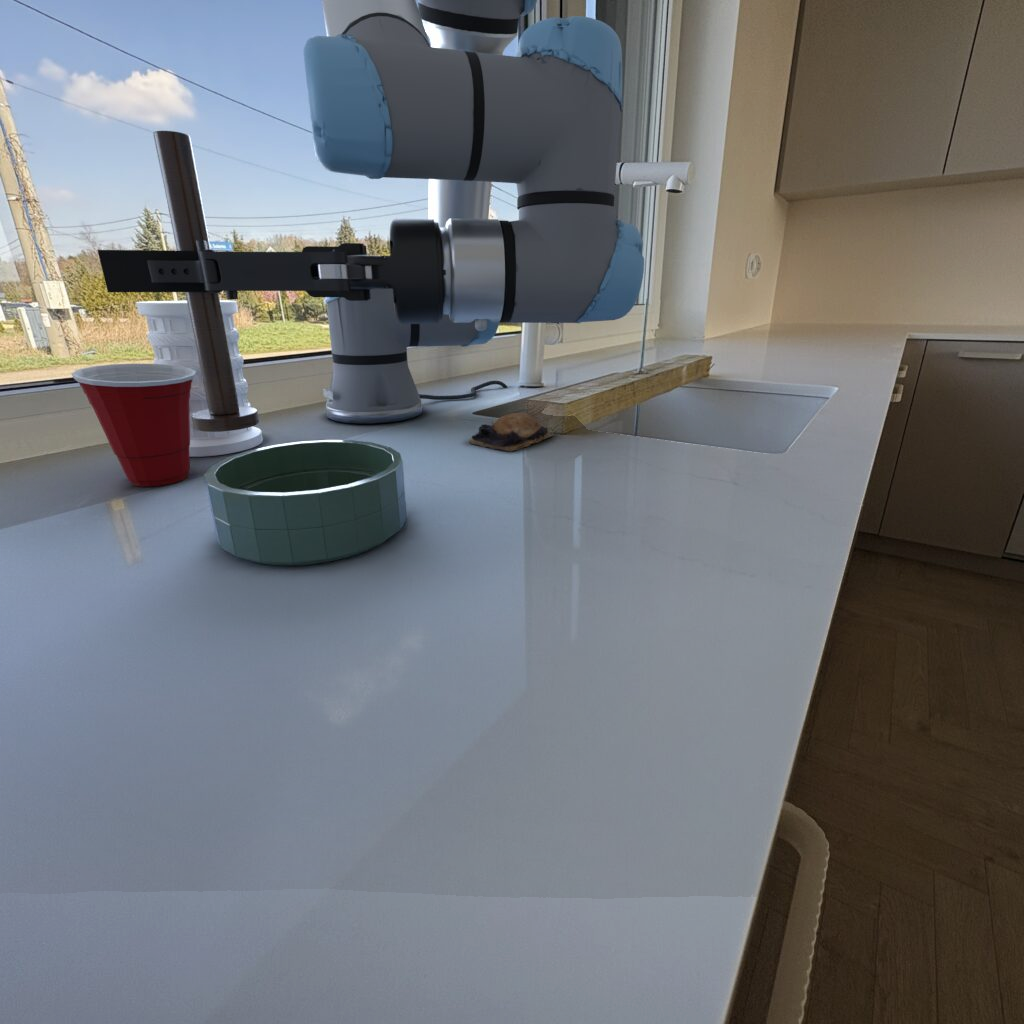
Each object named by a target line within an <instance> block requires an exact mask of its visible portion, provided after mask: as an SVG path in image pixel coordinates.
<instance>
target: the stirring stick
mask: <svg viewBox="0 0 1024 1024" xmlns="http://www.w3.org/2000/svg"><path fill="white" fill-rule="evenodd" d="M152 136H153V141H154V145H155V150H156V154H157V159H158V164H159V169H160V174H161V179H162V185H163V190H164V194H165V199H166V204H167V209H168V214H169V219H170V225H171V229H172V234H173V239H174V244H175V249H176V251H197V246H196V240H204V241H207V244H208V249H211V243H210V239H209V234H208V228H207V222H206V216H205V211H204V205H203V200H202V195H201V194H202V193H201V190H200V189H201V188H200V184H199V177H198V172H197V167H196V161H195V155H194V150H193V145H192V139H191V136H190V135H189V134H188V133H184V132H180V131H175V130H174V131H173V130H156V131H155V130H154V131H153V133H152ZM184 293H185V298H186V301H187V304H188V309H189V314H190V319H191V324H192V329H193V334H194V339H195V344H196V349H197V354H198V359H199V364H200V369H201V374H202V379H203V384H204V388H205V393H206V398H207V403H208V408H209V409H206V410H202V411H198V412H196V413H193V414H192V415H191V417H192V422H193V427H194V429H196V430H199V431H206V432H222V431H233V430H239V429H245V428H249V427H252V426H253V427H256V425H258V424H259V423H260V420H259V419H260V418H259V412H258V409H256V408H255V407H252V406H251V407H252V408H251V407H239V404H238V399H237V393H236V388H235V382H234V376H233V371H232V365H231V360H230V354H229V349H228V343H227V338H226V332H225V327H224V321H223V316H222V310H221V304H220V300H221V299H220V293H212V292H184Z"/></svg>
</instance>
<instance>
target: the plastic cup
mask: <svg viewBox="0 0 1024 1024" xmlns="http://www.w3.org/2000/svg"><path fill="white" fill-rule="evenodd" d="M70 374H71V376H72V378H73V380H75V382H77V383H78V385H79V386H80V387H81V388H82V391H83V394H84V395H85V396H86V398H87V401H88V403H89V404H90V405H91V407H92V409H93V412H94V414H95V416H96V417H97V420H98V422H99V425H101V426H100V427H101V428H102V430H103V433H104V434H105V436H106V439H107V441H108V443H109V446H110V447H111V450H112V452H113V454H114V455H115V456H116V458H117V460H118V462H119V464H120V466H121V468H122V472H123V473H124V475H125V477H126V478H127V479H128V481H129V483H130V484H131V485H132V486H135V487H143V488H144V487H148V488H149V487H157V486H158V487H160V486H165V485H170V484H174V483H175V484H176V483H177V482H180V481H183V480H185V479H186V478H188V477H189V476H190V469H191V460H190V459H191V458H190V455H189V446H190V411H189V399H190V390H191V383H192V380H193V379H194V377H195V375H196V371H194V370H192V369H190V368H186V367H181V366H176V365H164V364H154V363H115V364H114V363H113V364H111V363H110V364H103V365H93V366H87V367H83V368H79V369H76V370H74V371H73V372H71V373H70Z"/></svg>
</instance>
